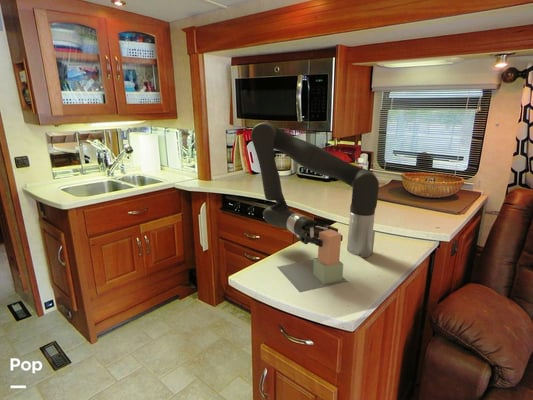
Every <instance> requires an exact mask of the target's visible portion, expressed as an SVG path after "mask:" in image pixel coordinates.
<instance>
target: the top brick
mask: <svg viewBox="0 0 533 400" xmlns="http://www.w3.org/2000/svg"><path fill="white" fill-rule="evenodd" d="M341 235H342V233H340V232H339V231H338V232H336V231H334V230H331V229H329V230H325V231H321V232H319V239H320V240H322V241H323V246H322V247H319V246H317V247H318V249H317V258H318V260H319V261H321V262H322V263H324V264H326V265H327V266H329V265H332V264H335V263H338V262H339V261H340V255H341V254H340V253H341V244H342V243H341V242H342V241H341Z"/></svg>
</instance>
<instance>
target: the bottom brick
mask: <svg viewBox="0 0 533 400" xmlns="http://www.w3.org/2000/svg"><path fill="white" fill-rule="evenodd" d="M313 260H314V268H313V275H315V276H316V277H317V278H318V279H319V280H320V281H321V282H322V283H323V284H327V283H331V282H336V281H341V280H342V277H343V273H344V263H343V262H342V261H340V260H339V262H338V263H335V264H332V265H329V266H327V265H326V264H324V263H322V262H321V261H319V260H318V257H314V258H313Z"/></svg>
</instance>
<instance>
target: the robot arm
mask: <svg viewBox="0 0 533 400" xmlns="http://www.w3.org/2000/svg"><path fill="white" fill-rule="evenodd" d="M250 139H251V142H252V145H253V147H254V150H255V154H256V157H257V160H258V164H259V169H260V176H261V181H262V187H263V188H262V189H263V193H264V198H265V200H266V201H269V202H270V201H271V202H273V201H275V203H276V204H272V205H270V206H268V207H266V208H265V209H264V210H263V213H262V215H263V220H265V222H266V223H268V224H269V225H270V226H274V227H278V228H279V227H280V228H284V229H286V230H287V231H290V232H291V233H292V234H294V235H295V236H296V238H295V239H297V240H298V241H300V242H301V243H302V244H304V245H309V244H310V245H311V244H312V245H315V246H317V247H318V246H319V247H322V246H323V241H322V240H320V239H319V232H321V231H325V230H329V229H331V230H334V231H336V232H338V233H339V228H336V227H334V226H332V225H329V224H324V226H319V225H318V224H317V222H316V221H315V220H314V219H311V218H309V217H307V216H306V215H303V214H300V213H297V212H295V211H293V210H290V208H289V206H288V202H287V201H286V199H285V197H284V194H283V190H282V183H281V177H280V173H279V171H278V167H277V164H276V159H275V150H276V151H278V152H280V153H282V154H285V155H286V156H287V157H288V158H290V159H291V160H293V161H294V162H295V163H296V164H298V165H300V166H301V167H302V168H305V169H307V170H309V171H311V172H314V173H315V174H319V175H322V176H326V177H331V178H334V179H337V180H339V181H341V182H343V183H345V184H346V185H348V186H350V187H351V188H352V190H351V191H352V194H351V203H350V207H349V221H348V234H347V244H346V245H347V246H346V251H347V252H348V253H350V254H352V255H353V256H354V255H355V256H358V257H360V258H361V259H363V258H368V257H370V256H371V255H373V253H374V245H375V235H376V232H375V231H374V226H375V216H376V215H375V214H376V208H377V206H378V199H379V190H380V184H379V179H378V178H377V176H376V175H375V174H374V173H373V172H372V171H371V170H369V169H366V168H363V167H359V166H357V165H355V164H353V163H349V162H347V161H345V160H343V159H342V158H341V157H338V156H337V155H335V154H334V153H332V152H329V151H328V150H326V149H324V148H323V147H320V146H318V145H316V144H313V143H311V142H309V141H306V140H303V139H301V138H297V137H296V136H293V135H291V134H289V133H287V132H286V131H284V130H283V129H280V128H279V127H278V126H276V125H274V124H273V123H271V122H268V121H263V122H260V123H258V124H255V126H254V127H253V128H252V130H251V132H250ZM341 242H343V235H342V234H341Z"/></svg>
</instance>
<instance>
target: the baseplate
mask: <svg viewBox="0 0 533 400" xmlns="http://www.w3.org/2000/svg"><path fill="white" fill-rule="evenodd" d="M276 268H277V269H278V270H279V271H280V273H282V275H283V276H285V278H286V279H287V280H288V281H289V282H290V284H291V285H292V286H293V287H294V288H295V289H296V290H297V291H298V292H299V293H302V292H307V291H311V290H316V289H321V288H325V287H330V286H335V285H339V284H344V283H348V282H349V280H347V279H346V278H345V277H344V276H342V280H341V281H336V282H331V283H327V284H323V283H322V282H321V281H320V280H319V279H318V278H317V277H316V276H315V275H313V268H314V259H311V260H306V261H300V262H296V263H295V262H294V263H290V264H284V265H279V266H276Z"/></svg>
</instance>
